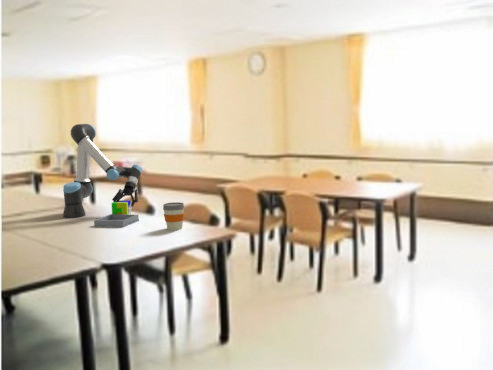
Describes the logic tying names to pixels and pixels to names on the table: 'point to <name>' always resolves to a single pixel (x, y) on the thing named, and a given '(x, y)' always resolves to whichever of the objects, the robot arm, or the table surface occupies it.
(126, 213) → the puzzle toy
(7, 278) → the table surface
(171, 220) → the reusable coffee cup
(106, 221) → the tray
